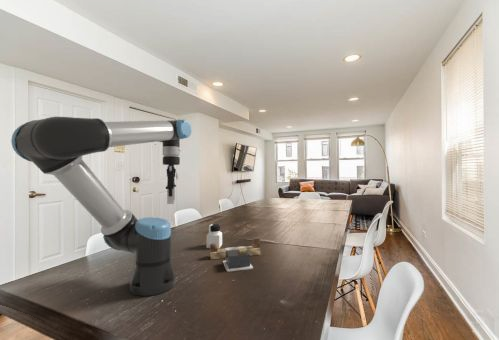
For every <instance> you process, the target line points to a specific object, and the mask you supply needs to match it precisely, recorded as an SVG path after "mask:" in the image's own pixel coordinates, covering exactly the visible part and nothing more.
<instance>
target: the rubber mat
mask: <svg viewBox="0 0 499 340" xmlns="http://www.w3.org/2000/svg"><path fill="white" fill-rule="evenodd" d="M222 263H223V266H224V268H225V270H226V272H228V273H229V272H237V271H248V270H254V266H253V265H252V264H251V263H250V266H249V267H240V268H231V269H229V267H228V265H227V263H226V260H222Z"/></svg>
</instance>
